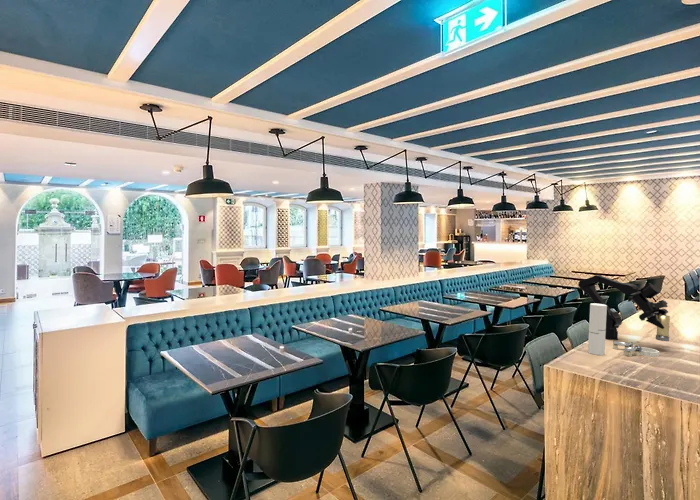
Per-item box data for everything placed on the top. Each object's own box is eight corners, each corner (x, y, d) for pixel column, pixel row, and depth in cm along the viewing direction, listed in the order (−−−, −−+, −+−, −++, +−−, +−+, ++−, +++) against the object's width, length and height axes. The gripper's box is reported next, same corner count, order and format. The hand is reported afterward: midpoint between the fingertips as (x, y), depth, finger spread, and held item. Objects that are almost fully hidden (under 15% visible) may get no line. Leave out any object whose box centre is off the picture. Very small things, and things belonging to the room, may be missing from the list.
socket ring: (641, 355, 194) (641, 351, 194) (632, 350, 203) (632, 346, 203) (663, 357, 192) (663, 353, 192) (652, 351, 201) (652, 348, 201)
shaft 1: (632, 350, 202) (632, 341, 202) (632, 351, 200) (632, 343, 200) (613, 347, 207) (613, 339, 207) (613, 348, 205) (613, 340, 205)
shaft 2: (635, 353, 197) (635, 344, 197) (641, 355, 194) (642, 346, 194) (623, 354, 195) (623, 345, 194) (629, 356, 192) (629, 347, 191)
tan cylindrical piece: (653, 339, 205) (654, 314, 204) (658, 337, 207) (660, 314, 207) (665, 341, 200) (667, 317, 199) (671, 340, 202) (672, 316, 202)
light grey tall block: (607, 355, 192) (609, 306, 191) (591, 354, 194) (593, 305, 193) (600, 351, 199) (603, 303, 198) (585, 350, 201) (587, 303, 200)
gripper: (646, 295, 202) (670, 321, 192) (665, 294, 210) (688, 318, 201) (629, 307, 209) (651, 332, 200) (647, 305, 218) (669, 329, 208)
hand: (666, 328), depth 202 cm, fingers closed on tan cylindrical piece, 5 cm apart
